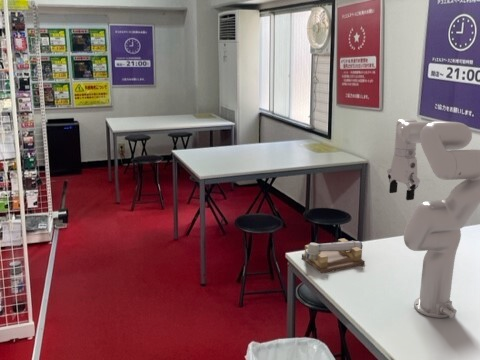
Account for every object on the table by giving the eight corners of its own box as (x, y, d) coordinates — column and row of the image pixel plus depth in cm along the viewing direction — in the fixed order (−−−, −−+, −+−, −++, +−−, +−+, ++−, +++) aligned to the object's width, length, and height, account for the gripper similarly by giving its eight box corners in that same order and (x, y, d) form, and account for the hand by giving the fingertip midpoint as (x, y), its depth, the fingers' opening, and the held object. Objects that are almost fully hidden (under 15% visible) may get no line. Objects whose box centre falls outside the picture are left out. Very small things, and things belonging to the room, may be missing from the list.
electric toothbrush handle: (364, 243, 210) (310, 244, 201) (361, 258, 211) (308, 259, 202) (357, 238, 214) (304, 239, 205) (354, 253, 216) (302, 254, 207)
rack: (364, 264, 206) (365, 250, 205) (321, 273, 199) (322, 259, 198) (342, 249, 221) (343, 236, 219) (301, 257, 213) (302, 244, 212)
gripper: (429, 156, 183) (424, 201, 188) (397, 147, 199) (394, 188, 203) (412, 158, 180) (408, 204, 185) (381, 148, 196) (379, 191, 201)
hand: (401, 196), depth 194 cm, fingers open, 9 cm apart
